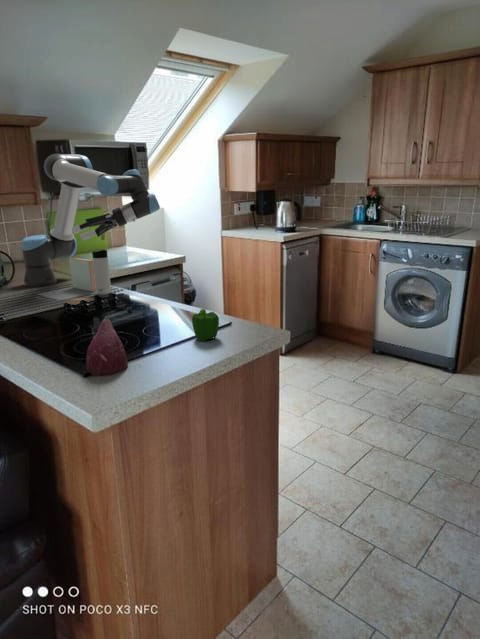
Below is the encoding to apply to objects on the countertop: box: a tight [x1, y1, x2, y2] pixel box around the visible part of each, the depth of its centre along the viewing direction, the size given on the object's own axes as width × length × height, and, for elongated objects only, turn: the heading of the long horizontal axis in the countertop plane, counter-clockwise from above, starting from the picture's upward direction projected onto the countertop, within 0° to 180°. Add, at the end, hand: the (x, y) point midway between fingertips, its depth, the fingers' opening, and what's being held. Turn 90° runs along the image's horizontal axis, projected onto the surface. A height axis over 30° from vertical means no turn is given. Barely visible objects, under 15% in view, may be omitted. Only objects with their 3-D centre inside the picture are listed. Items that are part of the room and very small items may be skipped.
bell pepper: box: [191, 308, 220, 341], centre depth 142 cm, size 8×8×10 cm
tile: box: [68, 256, 96, 292], centre depth 210 cm, size 2×16×14 cm, turn 51°
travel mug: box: [91, 249, 112, 296], centre depth 201 cm, size 6×7×20 cm
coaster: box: [65, 296, 95, 306], centre depth 190 cm, size 12×12×1 cm
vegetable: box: [85, 316, 129, 377], centre depth 122 cm, size 10×10×15 cm
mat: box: [36, 286, 97, 301], centre depth 208 cm, size 22×20×1 cm
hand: (77, 234), depth 195 cm, fingers open, 13 cm apart
